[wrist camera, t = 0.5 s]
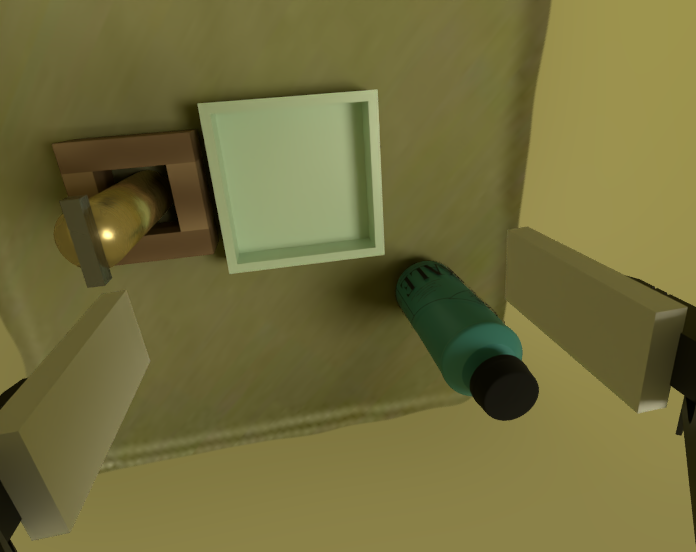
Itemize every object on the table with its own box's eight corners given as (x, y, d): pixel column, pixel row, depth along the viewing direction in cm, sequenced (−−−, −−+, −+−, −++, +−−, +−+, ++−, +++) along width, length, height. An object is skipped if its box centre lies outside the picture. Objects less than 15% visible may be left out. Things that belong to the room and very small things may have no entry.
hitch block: (73, 139, 37) (51, 144, 33) (197, 129, 38) (189, 132, 34) (107, 253, 40) (91, 268, 37) (218, 240, 42) (213, 253, 38)
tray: (204, 103, 37) (197, 103, 33) (367, 90, 39) (377, 89, 35) (233, 258, 42) (229, 273, 39) (375, 241, 44) (384, 254, 40)
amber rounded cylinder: (119, 165, 38) (29, 204, 24) (167, 160, 38) (107, 196, 24) (135, 224, 40) (60, 290, 26) (180, 219, 40) (131, 282, 26)
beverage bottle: (426, 319, 48) (520, 453, 30) (376, 293, 46) (445, 420, 28) (461, 270, 47) (582, 380, 28) (411, 241, 45) (508, 340, 26)
